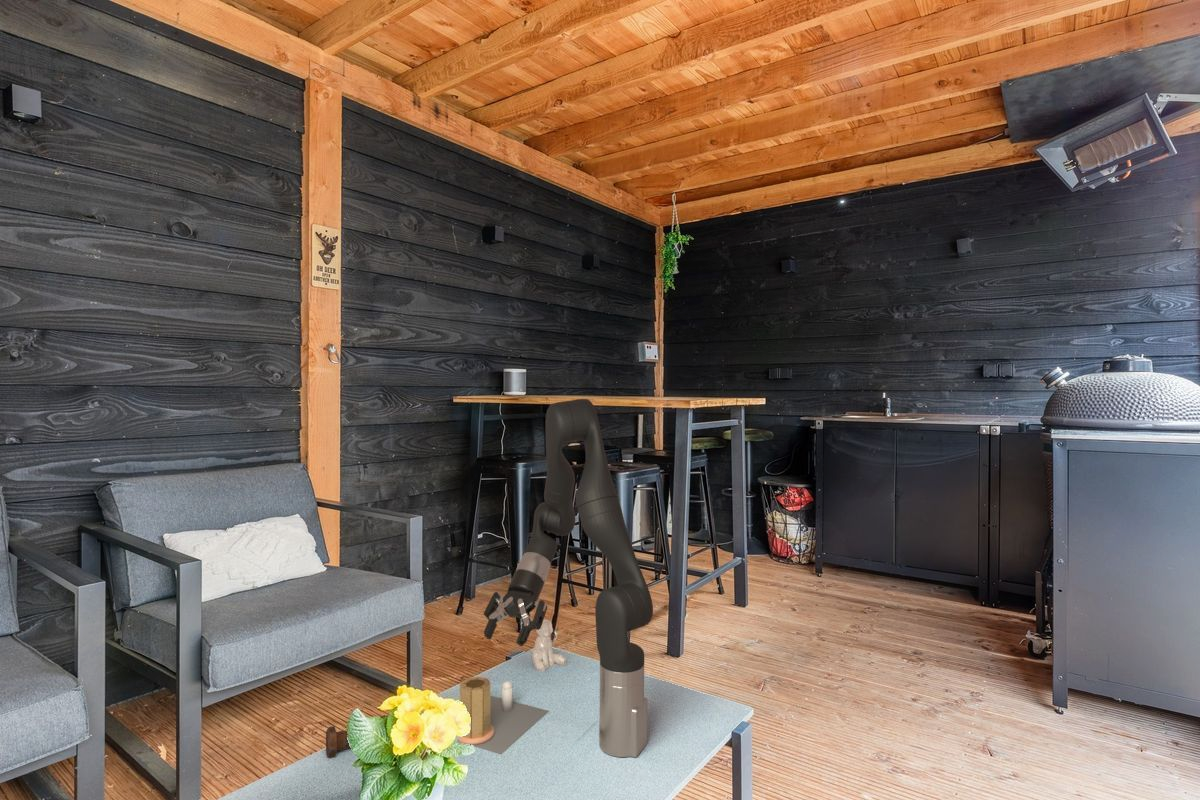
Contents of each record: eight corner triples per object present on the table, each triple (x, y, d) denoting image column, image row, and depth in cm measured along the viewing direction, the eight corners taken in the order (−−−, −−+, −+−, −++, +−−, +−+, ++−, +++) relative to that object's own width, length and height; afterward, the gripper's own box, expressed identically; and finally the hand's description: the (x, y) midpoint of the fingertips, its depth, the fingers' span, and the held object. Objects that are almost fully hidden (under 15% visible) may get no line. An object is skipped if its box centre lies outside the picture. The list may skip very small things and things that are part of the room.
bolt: (403, 746, 136) (326, 763, 129) (399, 725, 140) (324, 740, 133) (407, 729, 134) (329, 746, 127) (403, 708, 138) (327, 722, 130)
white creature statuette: (539, 675, 166) (539, 629, 166) (520, 664, 172) (520, 620, 172) (568, 665, 172) (568, 620, 172) (548, 655, 179) (549, 612, 178)
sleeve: (495, 727, 136) (495, 680, 136) (478, 741, 131) (478, 692, 131) (472, 720, 139) (472, 674, 139) (454, 734, 134) (454, 686, 133)
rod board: (549, 717, 145) (549, 682, 145) (499, 763, 127) (499, 723, 127) (483, 699, 153) (483, 666, 153) (428, 740, 135) (428, 703, 135)
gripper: (498, 564, 154) (469, 628, 144) (550, 572, 148) (523, 639, 138) (511, 580, 159) (483, 643, 149) (561, 588, 153) (536, 654, 143)
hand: (503, 641), depth 144 cm, fingers open, 8 cm apart
